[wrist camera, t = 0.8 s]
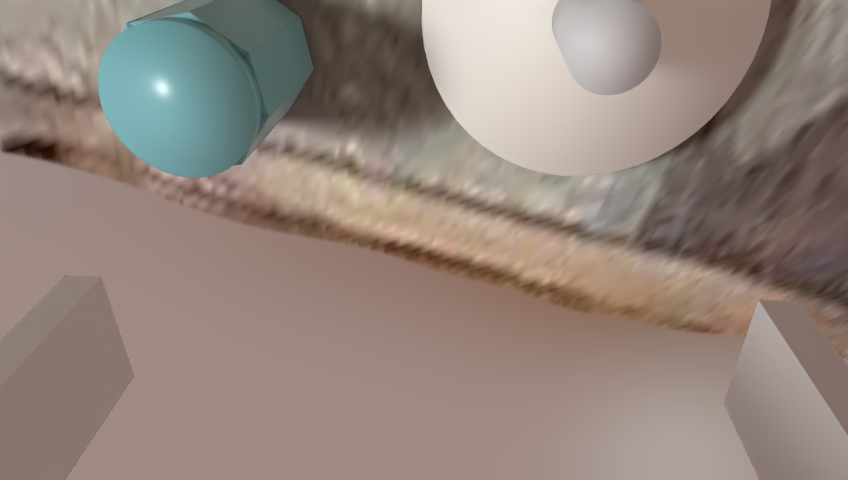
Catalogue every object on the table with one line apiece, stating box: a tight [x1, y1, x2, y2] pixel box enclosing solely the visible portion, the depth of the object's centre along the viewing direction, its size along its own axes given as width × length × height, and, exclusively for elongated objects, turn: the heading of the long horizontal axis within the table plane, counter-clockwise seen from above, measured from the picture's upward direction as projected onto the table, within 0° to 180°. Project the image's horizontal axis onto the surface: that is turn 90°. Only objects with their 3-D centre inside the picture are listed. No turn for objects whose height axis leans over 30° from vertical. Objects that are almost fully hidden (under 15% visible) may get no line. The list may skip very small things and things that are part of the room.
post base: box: [422, 0, 771, 176], centre depth 27 cm, size 16×16×8 cm
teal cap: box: [98, 0, 314, 178], centre depth 29 cm, size 7×7×9 cm
